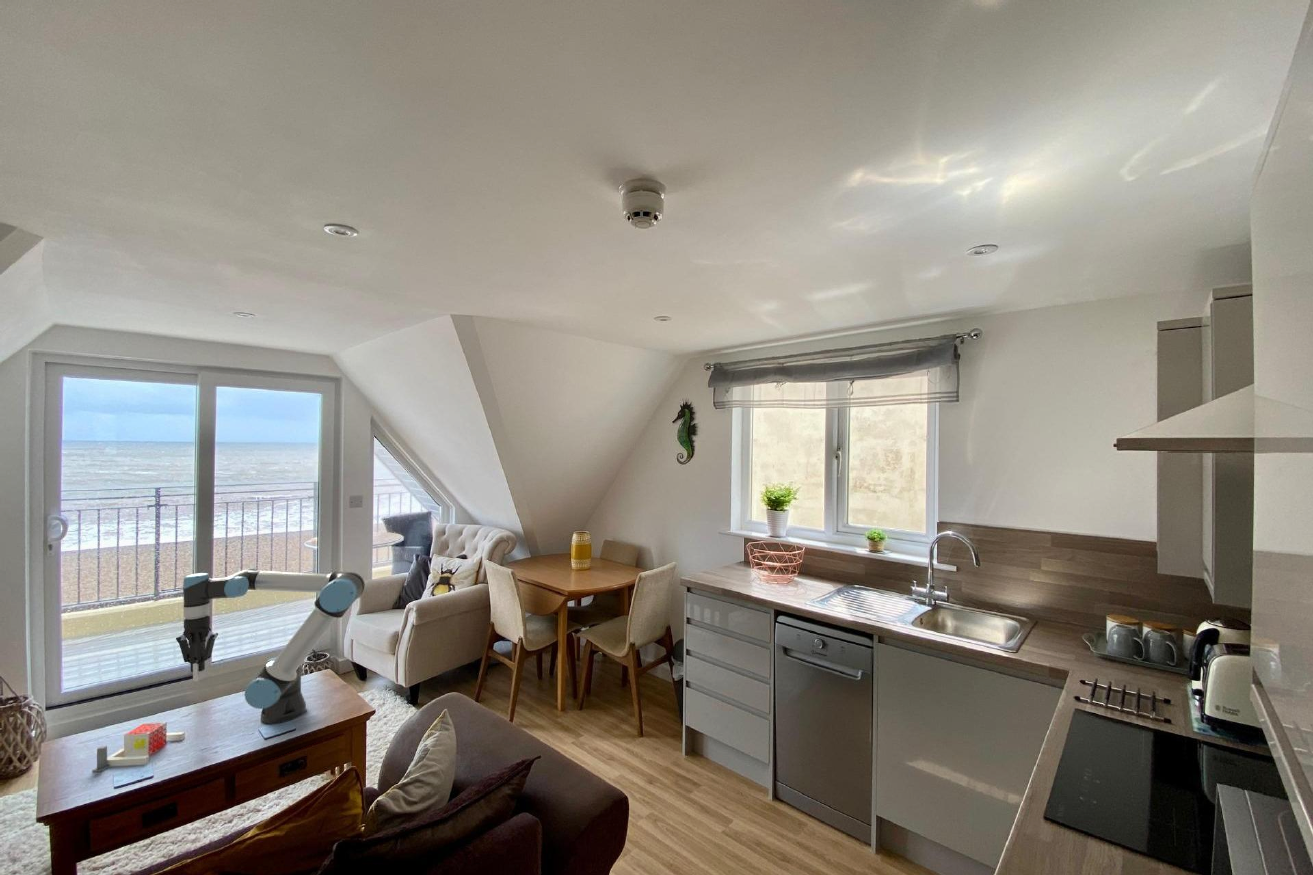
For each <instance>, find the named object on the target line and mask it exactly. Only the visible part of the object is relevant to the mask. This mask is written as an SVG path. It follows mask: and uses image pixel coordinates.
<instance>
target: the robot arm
mask: <svg viewBox="0 0 1313 875" xmlns="http://www.w3.org/2000/svg"><path fill="white" fill-rule="evenodd" d="M182 583H183V584H182V591H183V592H182V593H183V594H182V595H183V597H182V598H183V607H182V608H183V609H182V610H183V613H182V614H183V618H184V619H183V629H184V630H183V632H182V634H181V635H179V636H177V637H176V638H175V641H176V642H177V643H178V644H179V648H180V651H181V655H182V659H183V661H184V663H189V664H190V673H192V682H193V683H194V682H199V681H201V680H203V671H205V669H206V667H205V666H206V661H208V660H209V659H210V658H211V657H212V654H213V649H214V647H215V646H214V645H215V641H216V638H217V637H218V635H219V633H218V632H214V631H212V629H211V627H210V626H211V615H210V613H211V602H210V601H211V600H215V599H216V600H218V599H230V598H231V599H232V598H233V599H234V598H235V599H236V598H239V597H244V596H245V595H246V594H247V593H248V591H269V592H271V591H272V592H273V591H274V592H295V593H296V592H297V593H314V594H315V593H316V594H317V593H318V594H319V596H318V597H317V599H316V600H315V601H314V603H313V605H314V608H313V610H312V612H311V613H310V614H309V615H308V617H307V618H306V620H304V622H303V623H302V624H301V626H299V629H297V631H296V632H295V633H294V635H293V636H292V638H290V640H289V642H287V644H286V645H285V647H283V649H282V650H281V651H280V653H279V654H278V655H277V656H275V657H271V658H269V659H268V660H266V663H265V666H264V667H263V668H262V670H261V671H260V672H258V674H257V676H255V678H254V679H253V680H251V681H250V682H249V683H248V685H247V686H246V688H245V690H244V693H243V694H244V698H245V702H246V703H247V704H248V705H249V706H250V707H252V708H254V709H259V710H260V709H261V713H260V722H262V723H264V724H278V723H285V722H287V721H290V720H293V719H296V718H299V717H300V716H302V715H303V714H304V713H305V712H306V710H307V704H306V703H307V702H306V701H305V699H304V695H303V693H302V664H303V662H304V661H305V660H306V659H307V657H308V656H309V655H310V653H311V652H312V651H313V649H314V648H316V647H315V646H317V644H318V643H319V642H320V640H321V639H322V637H324V635H325V633H326V632H327V631H328V630H329V628H330V627H331V626H332V624H333V623H334V622H335V620H337V619H341V618H342V617H344V615H345V614H346V612H347V611H348V610H349V609H350V607H351V606H352V605H353V604H354V602H356V600H358V599H359V598H360V597H361V596H362V594H363V593H364V591H365V586H366V584H365V580H364V578H363V577H362V576H361V575H360V574H358V573H356V572H354V571H353V572H352V571H331V572H330V573H315V572H314V573H313V572H296V571H295V572H292V571H291V572H290V571H288V572H287V571H270V570H269V571H268V570H258V569H256V568H253V567H249V568H245V569H241V570H240V571H238V572H236V573H234V574H231V575H229V576H228V575H227V576H226V577H217V578H211V576H210V573H208V572H207V573H206V572H200V573H192V574H189V575H186V576H185V577H184V578H183V581H182Z"/></svg>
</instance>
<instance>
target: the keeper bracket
mask: <svg viewBox="0 0 1313 875" xmlns="http://www.w3.org/2000/svg"><path fill="white" fill-rule="evenodd" d="M185 735H186V732H185V731H183V732H182V731H181V732H179V731H178V732H166V742H171V741H172V742H173V741H174V742H176V741H177V742H178V741H182V740H184V739H185V738H186V736H185ZM148 763H150V756H131V757H124V747H122V748H120V749H119V750H117V751H116V752H114V753H112V754H111V755H109V756H108V746H107V745H102V746H99V747H97V748H96V767H95V768H93V769H92V770H91V772H92V773H96V772H97V773H98V772H104V771H106V770H107V769H109V768H110V767H111V768H112V767H126V766H127V767H129V766H143V765H144V766H145V765H147V764H148Z"/></svg>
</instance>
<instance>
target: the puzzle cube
mask: <svg viewBox="0 0 1313 875" xmlns="http://www.w3.org/2000/svg"><path fill="white" fill-rule="evenodd" d="M167 725H168V724H167V722H152V723H151V722H150V723H142V724H141V725H139V726H137V727H135V728H134V729H132V730H130V731H128V732H127V733H125V734H124V735H123V748H124V757H131V756H149V757H150V756H151V755H153V754H155V753H156V752H157V751H159V750H160V749H162V748H163V747H164V746H166V745H167V741H166V733H167Z"/></svg>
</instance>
